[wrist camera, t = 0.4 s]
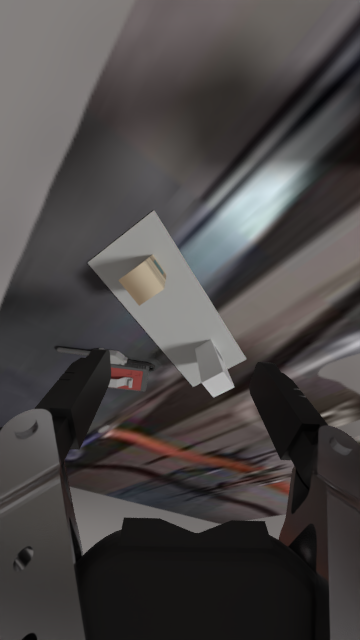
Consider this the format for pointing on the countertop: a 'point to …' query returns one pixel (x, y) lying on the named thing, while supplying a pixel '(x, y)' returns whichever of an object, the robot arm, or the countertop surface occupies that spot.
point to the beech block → (144, 280)
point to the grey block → (213, 369)
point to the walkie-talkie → (122, 370)
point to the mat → (167, 298)
